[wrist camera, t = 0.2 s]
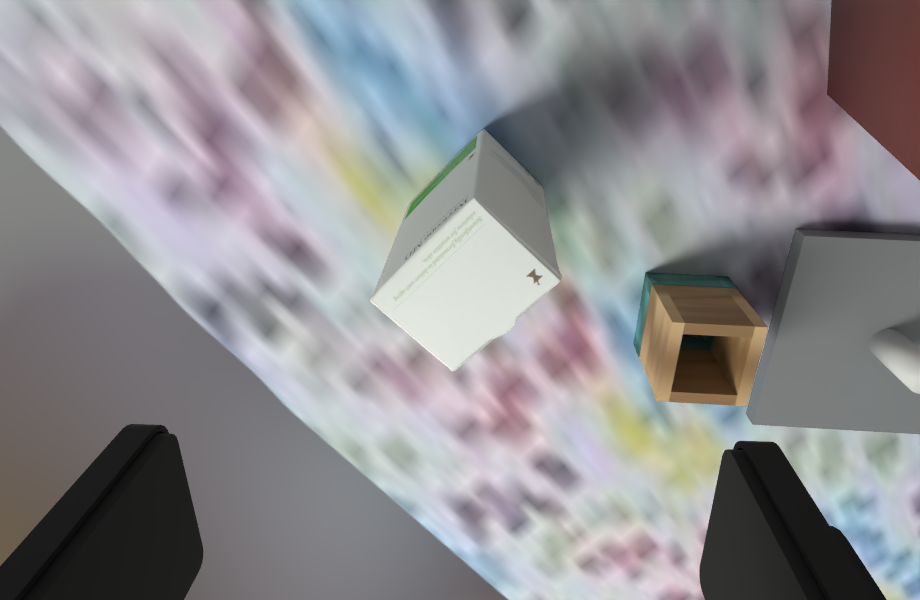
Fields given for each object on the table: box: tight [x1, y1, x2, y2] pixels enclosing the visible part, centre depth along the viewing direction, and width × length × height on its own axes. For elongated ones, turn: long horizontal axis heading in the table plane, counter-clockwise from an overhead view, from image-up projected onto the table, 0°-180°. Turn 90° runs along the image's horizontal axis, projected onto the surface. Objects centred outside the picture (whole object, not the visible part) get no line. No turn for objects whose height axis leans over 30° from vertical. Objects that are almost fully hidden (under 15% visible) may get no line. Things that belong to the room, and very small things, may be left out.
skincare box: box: [370, 129, 562, 371], centre depth 39 cm, size 8×7×16 cm
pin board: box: [746, 229, 920, 434], centre depth 46 cm, size 16×16×6 cm
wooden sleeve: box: [634, 273, 768, 406], centre depth 45 cm, size 6×6×8 cm
